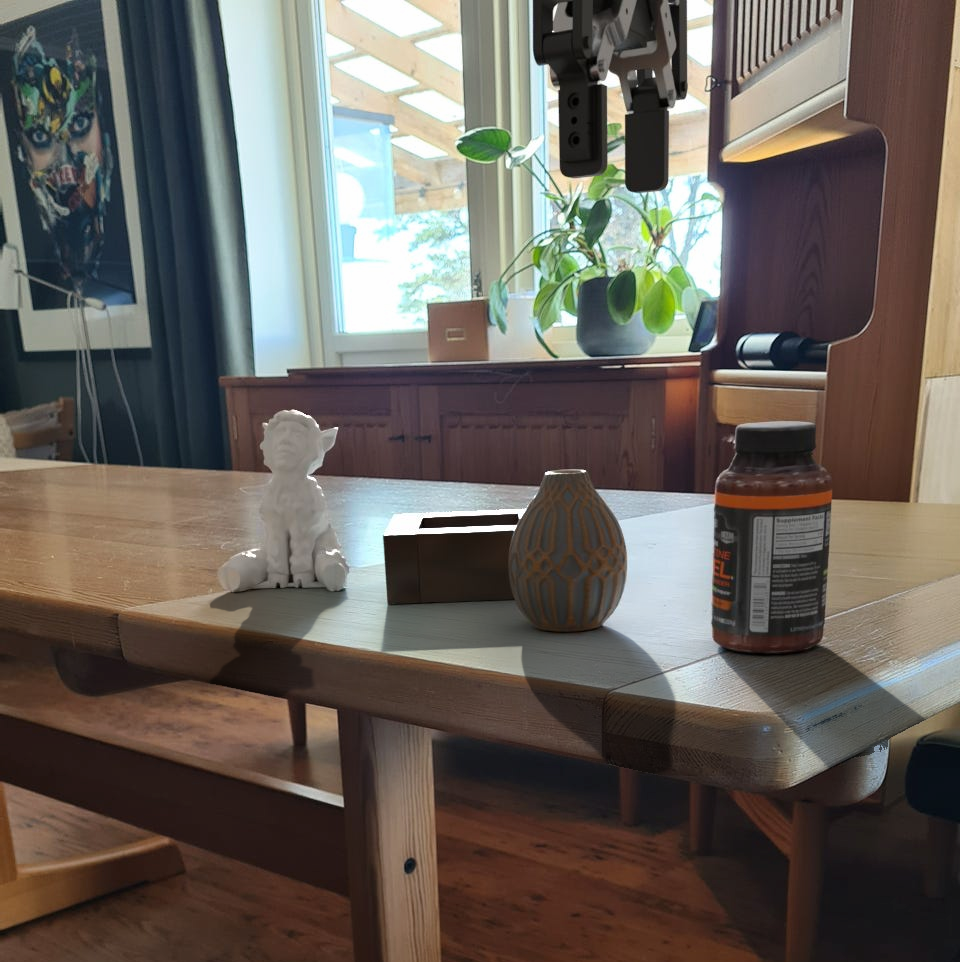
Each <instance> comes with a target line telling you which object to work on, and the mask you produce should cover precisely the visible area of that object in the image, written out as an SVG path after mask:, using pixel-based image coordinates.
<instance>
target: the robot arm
mask: <svg viewBox="0 0 960 962" xmlns="http://www.w3.org/2000/svg"><path fill="white" fill-rule="evenodd" d="M555 7H556V8H555ZM554 9H556V10H555V14H554ZM532 54H533V59H534V61H535V64H536V65H537V66H539V67H542V66H545V65H546V66H549V78H550V82H551V85H552V86H553V88H555V89H558V90H557V99H558V101H557V102H558V103H557V105H558V153H559V155H558V157H559V159H558V160H559V171H560V173H561V175H562V176H563V177H566V178H570V179H583V178H591V177H600V176H602V175H603V174H605V172H606V171H607V168H608V161H609V160H608V157H609V156H608V86H607V85H605V84H603V83H600V82H604V81H606V79H607V76H608V72H610V73H611V74H613V75H615V76H617V77H618V80H619V84H620V90H621V94H622V99H623V102H624V107H625V110H626V113H625V114H624V185H625V188H626V190H627V191H629V192H631V193H635V194H643V193H653V192H661V191H663V190H665V189H666V188H667V186H668V184H669V173H670V172H669V170H670V169H669V168H670V167H669V165H670V164H669V163H670V162H669V161H670V156H669V155H670V147H669V146H670V145H669V144H670V110H669V109H674V107H675V106H676V101H682V100H686V98H687V94H688V89H689V83H688V0H532ZM653 74H654V75H653Z"/></svg>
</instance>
